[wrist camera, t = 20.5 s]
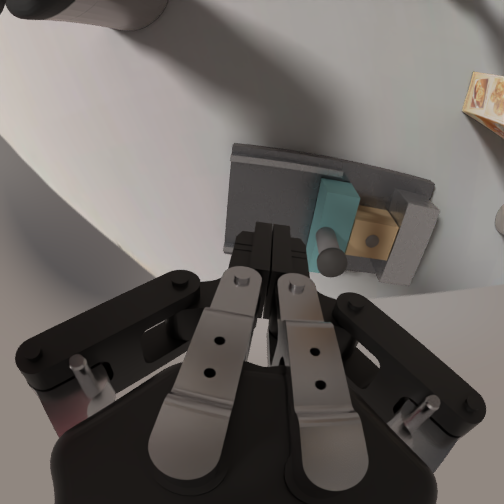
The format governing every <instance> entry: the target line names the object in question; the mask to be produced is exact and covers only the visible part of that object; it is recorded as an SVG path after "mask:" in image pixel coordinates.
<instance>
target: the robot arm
mask: <svg viewBox="0 0 504 504" xmlns="http://www.w3.org/2000/svg"><path fill="white" fill-rule="evenodd" d="M167 1H168V0H0V14H1V13H2V11H3V8H4V6H5V4H6V6H7V8H8V10H9V11H10V13H11V14H13V15H14V16H16V17H18V18H21V19H27V20H53V21H65V22H74V23H82V24H90V25H96V26H102V27H108V28H113V29H118V30H125V31H133V30H138V29H141V28H143V27H145V26H147V25H149V24H150V23H152V22H153V21H155V20H156V19H157V18H158V17H159V16H160V14H161V13H162V12H163V10H164V8H165V6H166V4H167ZM306 253H307V252H306V245H305V244H304V243H303V241H302V240H301V239H300V238H293V237H291V235H290V226H286V225H279V224H273V229H272V224H271V223H264V222H257V221H256V225H255V232H249V231H242V232H241V233H239V234H238V235H237V236H236V240H235V244H234V248H233V252H232V256H231V260H230V264H229V268H228V269H227V270H226V271H225V272H224V273H223V275H222V278H220V279H217V280H213V281H205V282H200V279H199V277H198V276H197V275H196V274H194V273H193V272H190V271H187V270H174V271H171V272H168V273H166V274H164V275H162V276H160V277H157V278H155V279H153V280H151V281H149V282H147V283H145V284H143V285H140V286H138V287H136V288H134V289H132V290H130V291H128V292H125V293H123V294H121V295H119V296H117V297H115V298H113V299H111V300H109V301H106V302H104V303H102V304H100V305H98V306H96V307H94V308H92V309H90V310H88V311H85V312H84V313H81V314H79V315H77V316H75V317H73V318H71V319H69V320H67V321H65V322H63V323H61V324H58V325H56V326H54V327H52V328H50V329H48V330H46V331H44V332H42V333H40V334H38V335H36V336H34V337H32V338H30V339H28V340H26V341H25V342H23V343H22V344H21V345H20V347H19V348H18V350H17V352H16V357H15V361H16V365H17V367H18V368H19V370H20V371H21V373H22V374H23V375H24V377H25V378H26V380H27V382H28V384H29V386H30V387H31V388H32V390H33V391H34V392H35V394H36V395H37V396H38V397H39V399H40V400H41V403H42V405H43V407H44V409H45V411H46V413H47V415H48V417H49V419H50V421H51V423H52V425H53V427H54V429H55V431H56V433H57V435H58V436H59V439H58V441H57V442H56V444H55V446H54V448H53V451H52V454H51V460H50V463H51V464H50V469H51V475H52V480H53V485H54V492H55V493H54V494H55V504H436V500H437V492H438V490H437V483H436V479H435V476H434V474H433V473H434V472H435V471H436V470H437V468H438V467H439V466H440V464H441V463H442V462H443V460H444V458H445V457H446V456H447V455H448V453H449V452H450V450H451V449H452V448H453V446H454V445H455V443H456V442H457V441H458V440H459V439H460V438H462V437H463V436H464V435H465V434H466V433H468V432H469V431H470V430H471V429H473V428H474V427H475V426H476V425H478V424H479V423H480V422H481V421H482V420H483V419H484V417H485V414H486V405H485V402H484V400H483V398H482V397H481V395H480V394H479V393H478V392H477V391H475V390H474V389H473V388H472V387H471V386H470V385H469V384H468V383H466V382H465V381H464V380H463V379H462V378H461V377H460V376H459V375H457V374H456V373H455V372H454V371H453V370H452V369H450V368H449V367H448V366H447V365H446V364H445V363H443V362H442V361H441V360H440V359H439V358H438V357H437V356H435V355H434V354H433V353H432V352H431V351H429V350H428V349H427V348H426V347H425V346H424V345H422V344H421V343H420V342H419V341H418V340H417V339H415V338H414V337H413V336H412V335H410V334H409V333H408V332H407V331H406V330H405V329H403V328H402V327H401V326H399V324H397V323H396V322H395V321H394V320H392V319H391V318H390V317H389V316H387V315H386V314H385V313H384V312H383V311H381V310H380V309H379V308H378V307H377V306H375V305H374V304H373V303H372V302H370V301H369V300H368V299H367V298H365V297H364V296H362V295H360V294H357V293H351V292H347V293H343V294H341V295H339V296H338V298H337V300H336V299H333V298H330V297H327V296H325V295H323V294H321V293H319V292H318V291H317V290H316V286H315V284H314V282H313V281H312V280H311V279H310V276H309V267H308V260H307V254H306ZM263 306H264V312H263ZM262 312H263V318H264V319H269V326H268V330H267V356H268V357H267V359H268V367H262V366H258V365H255V364H252V363H249V362H247V359H248V355H249V350H250V345H251V341H252V336H253V331H254V328H255V327H256V323H257V318H261V317H262ZM164 320H165V321H164ZM162 321H164V322H163V323H161V324H159V325H157V326H155V327H154V328H152V329H150V330H148V331H146V330H147V329H149V328H151V327H153V326H154V325H156V324H158V323H160V322H162ZM145 331H146V332H145ZM358 342H360V343H361V344H362V345H363V346H364V347H365V348H366V349H367V350H369V352H370V353H372V354H373V355H374V356H375V357H376V358H377V359H378V361H379V363H380V369H379V368H378V367H377V366H376V365H375V364H374V363H373V362H372V361H371V360H370V359H369V358H367V357H366V356H365V355H364V354H363V353H362V352H361V351H360V350H359V349H358V348H356V346H357V344H358ZM186 351H187V353H186V355H185V358H184V361H183V362H182V363H178V364H175V365H172V366H170V367H168V368H166V369H164V370H163V371H161V372H159V373H158V374H156V375H155V376H153V377H152V378H150V379H149V380H147V381H146V382H144V383H142V384H141V385H139V386H138V387H136V388H135V389H133V390H132V391H130V392H129V393H127V394H126V395H124V396H123V397H121V398H119V399H118V400H116V401H115V397H116V393H118V392H120V391H122V390H123V389H125V388H127V387H128V386H130V385H132V384H133V383H135V382H137V381H139V380H140V379H142V378H144V377H145V376H147V375H149V374H150V373H152V372H153V371H155V370H157V369H159V368H160V367H162V366H163V365H165V364H167V363H168V362H170V361H172V360H173V359H175V358H176V357H178V356H180V355H181V354H183V353H184V352H186Z"/></svg>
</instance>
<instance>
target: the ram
mask: <svg viewBox="0 0 504 504" xmlns="http://www.w3.org/2000/svg"><path fill="white" fill-rule="evenodd" d="M359 202H360V197H359V195H358V193H357V192H356V190H355V188H354V187H353V185H352V184H351V183H347V182H342V181H337V180H331V179H325V178H321V183H320V188H319V193H318V197H317V202H316V207H315V211H314V216H313V220H312V225H311V229H310V234H309V238H308V242H307V247H306V252H307V253H306V254H307V260H308V267H309V272H316V273H321V274H322V275H324V276H326V277H336V276H339V275H341V274H342V273H343V272H344V271H345V270H346V268H347V264H348V262H347V258H346V255H345V250H346V247H347V243H348V240H349V237H350V233H351V230H352V227H353V223H354V220H355V216H356V213H357V209H358V205H359Z"/></svg>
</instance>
